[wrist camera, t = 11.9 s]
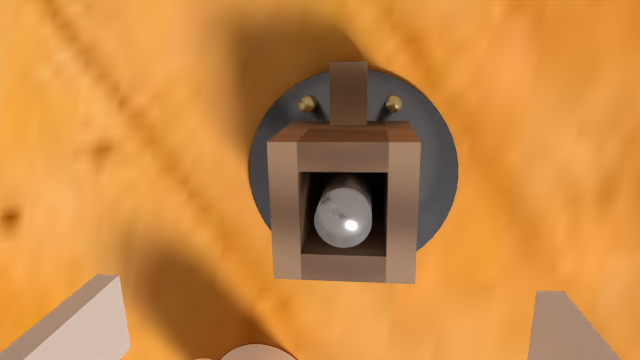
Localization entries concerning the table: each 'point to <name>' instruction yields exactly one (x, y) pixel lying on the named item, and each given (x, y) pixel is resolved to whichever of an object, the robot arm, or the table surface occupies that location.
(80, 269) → the table surface
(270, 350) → the mug
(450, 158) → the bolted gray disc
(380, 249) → the collar
